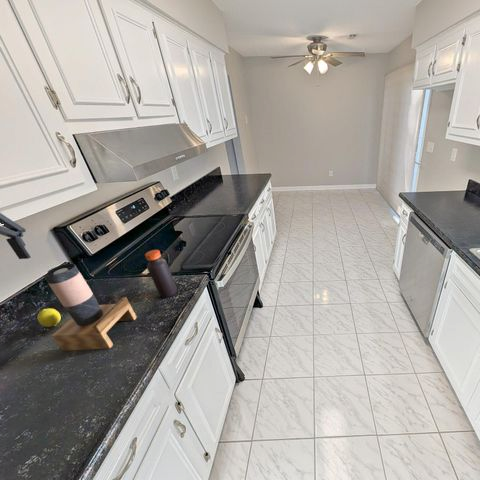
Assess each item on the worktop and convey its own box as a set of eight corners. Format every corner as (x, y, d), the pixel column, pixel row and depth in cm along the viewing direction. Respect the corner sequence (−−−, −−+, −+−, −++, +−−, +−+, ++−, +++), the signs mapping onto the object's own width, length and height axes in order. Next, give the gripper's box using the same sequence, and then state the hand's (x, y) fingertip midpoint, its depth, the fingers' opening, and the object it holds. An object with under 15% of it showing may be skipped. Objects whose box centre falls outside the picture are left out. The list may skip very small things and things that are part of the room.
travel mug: (108, 313, 88) (80, 265, 79) (83, 329, 82) (49, 279, 73) (96, 308, 91) (68, 261, 82) (71, 323, 85) (37, 274, 76)
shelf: (63, 350, 84) (46, 328, 79) (95, 319, 96) (83, 299, 92) (110, 348, 84) (96, 326, 79) (137, 317, 96) (126, 296, 92)
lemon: (43, 333, 92) (30, 317, 88) (46, 324, 96) (34, 308, 92) (63, 326, 94) (52, 310, 91) (66, 317, 98) (54, 302, 95)
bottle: (172, 297, 105) (155, 256, 96) (156, 298, 106) (138, 257, 96) (180, 287, 111) (165, 248, 102) (165, 288, 112) (148, 249, 102)
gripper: (-120, 214, 48) (-43, 300, 58) (15, 182, 71) (55, 248, 80) (-160, 216, 48) (-76, 302, 58) (-12, 183, 71) (31, 249, 80)
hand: (0, 271), depth 69 cm, fingers open, 13 cm apart
